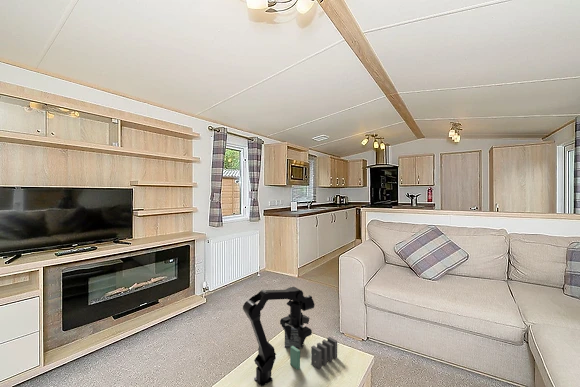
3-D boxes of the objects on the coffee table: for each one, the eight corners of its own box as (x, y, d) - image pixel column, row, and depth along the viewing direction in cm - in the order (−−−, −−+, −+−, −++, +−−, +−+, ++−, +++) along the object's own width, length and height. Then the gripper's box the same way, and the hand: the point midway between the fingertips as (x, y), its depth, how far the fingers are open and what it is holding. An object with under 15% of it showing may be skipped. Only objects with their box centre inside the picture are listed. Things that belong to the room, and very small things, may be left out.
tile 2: (318, 369, 131) (318, 351, 131) (311, 364, 135) (311, 346, 135) (321, 367, 132) (321, 350, 132) (313, 362, 136) (313, 345, 136)
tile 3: (324, 366, 133) (324, 348, 133) (316, 360, 138) (316, 343, 138) (327, 364, 135) (327, 347, 135) (319, 359, 139) (319, 342, 139)
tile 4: (329, 362, 136) (329, 345, 136) (322, 357, 140) (322, 340, 140) (332, 361, 137) (332, 344, 137) (324, 356, 142) (324, 339, 142)
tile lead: (297, 369, 131) (297, 351, 131) (290, 364, 135) (290, 347, 135) (300, 368, 132) (299, 350, 132) (292, 362, 136) (292, 345, 136)
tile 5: (334, 359, 139) (334, 342, 139) (327, 354, 143) (327, 338, 143) (337, 357, 140) (337, 341, 140) (329, 352, 144) (329, 336, 144)
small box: (303, 342, 155) (303, 324, 155) (302, 348, 148) (302, 330, 148) (285, 341, 156) (285, 323, 156) (284, 347, 149) (284, 329, 149)
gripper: (319, 314, 132) (319, 345, 132) (295, 302, 146) (294, 330, 146) (303, 321, 125) (303, 353, 124) (279, 308, 139) (279, 337, 139)
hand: (295, 343), depth 134 cm, fingers open, 9 cm apart
